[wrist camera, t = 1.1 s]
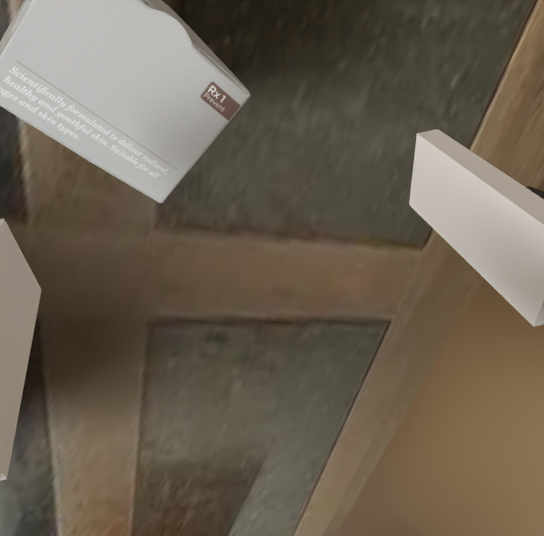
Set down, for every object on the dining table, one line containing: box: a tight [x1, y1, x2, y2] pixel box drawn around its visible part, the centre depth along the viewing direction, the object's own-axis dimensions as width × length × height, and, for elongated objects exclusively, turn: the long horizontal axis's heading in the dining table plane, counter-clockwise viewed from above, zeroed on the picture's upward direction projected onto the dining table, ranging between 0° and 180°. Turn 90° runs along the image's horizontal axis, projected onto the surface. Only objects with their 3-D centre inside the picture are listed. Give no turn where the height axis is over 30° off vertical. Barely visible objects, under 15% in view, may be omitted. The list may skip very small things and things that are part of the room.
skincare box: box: [0, 0, 250, 203], centre depth 23 cm, size 8×7×16 cm
